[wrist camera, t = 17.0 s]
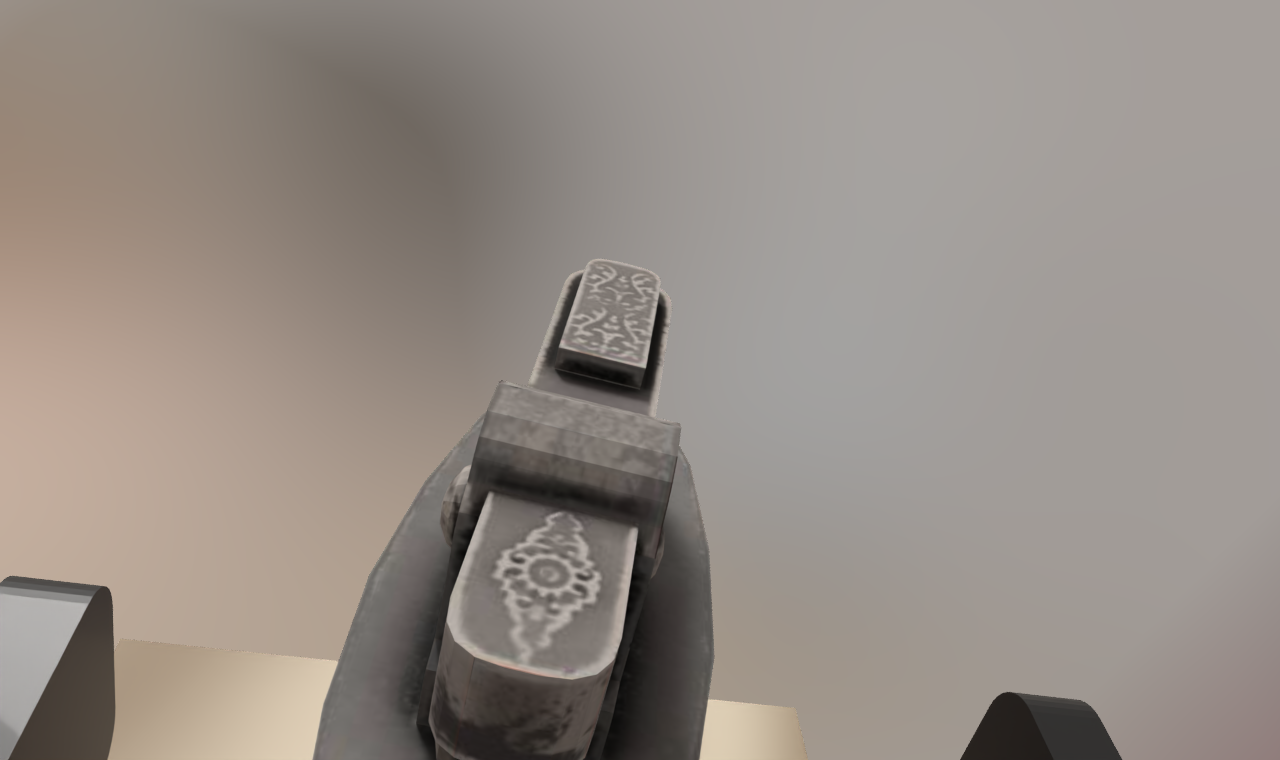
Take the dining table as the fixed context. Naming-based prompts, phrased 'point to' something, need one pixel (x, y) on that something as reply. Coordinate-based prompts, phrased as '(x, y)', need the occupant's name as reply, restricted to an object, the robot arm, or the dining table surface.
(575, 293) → the lighter
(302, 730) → the pad
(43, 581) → the robot arm
